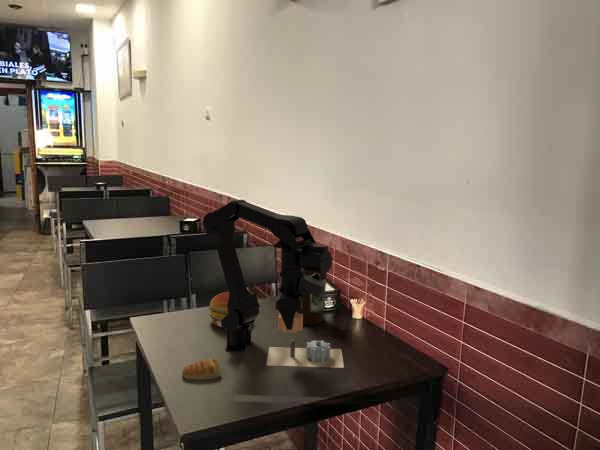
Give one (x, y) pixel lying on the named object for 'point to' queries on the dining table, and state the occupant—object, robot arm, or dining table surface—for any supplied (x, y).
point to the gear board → (301, 357)
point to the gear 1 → (296, 323)
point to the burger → (219, 308)
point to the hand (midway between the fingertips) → (290, 324)
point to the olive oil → (313, 303)
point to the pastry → (202, 370)
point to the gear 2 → (318, 351)
